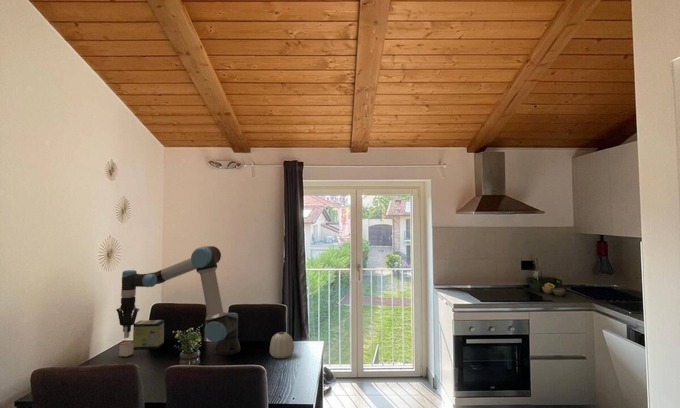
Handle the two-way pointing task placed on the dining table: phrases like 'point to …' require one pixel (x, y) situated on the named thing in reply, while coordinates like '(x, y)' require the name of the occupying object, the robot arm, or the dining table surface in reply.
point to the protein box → (148, 334)
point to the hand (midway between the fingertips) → (126, 337)
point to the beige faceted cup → (126, 348)
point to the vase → (281, 345)
